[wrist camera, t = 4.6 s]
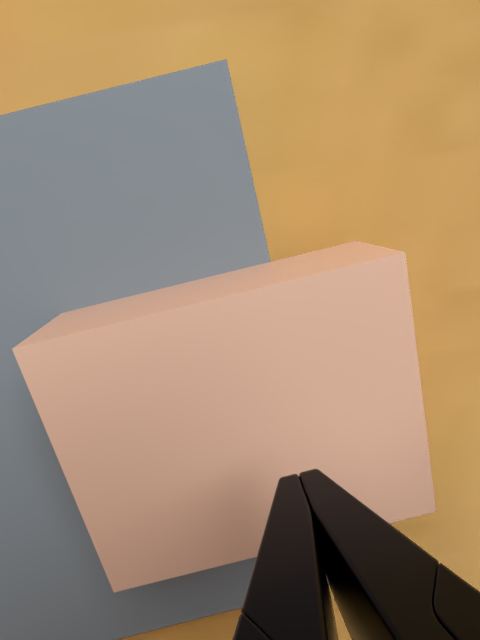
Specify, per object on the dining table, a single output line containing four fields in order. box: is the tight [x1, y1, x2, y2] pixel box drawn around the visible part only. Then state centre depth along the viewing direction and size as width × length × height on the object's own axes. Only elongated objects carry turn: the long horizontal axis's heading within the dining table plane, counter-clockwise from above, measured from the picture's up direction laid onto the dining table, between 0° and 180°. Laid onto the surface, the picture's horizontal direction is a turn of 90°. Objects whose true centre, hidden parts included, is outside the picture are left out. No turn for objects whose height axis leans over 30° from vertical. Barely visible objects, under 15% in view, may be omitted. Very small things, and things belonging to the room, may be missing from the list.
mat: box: [0, 60, 329, 640], centre depth 15 cm, size 20×14×2 cm
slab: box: [12, 241, 436, 592], centre depth 13 cm, size 8×4×10 cm
